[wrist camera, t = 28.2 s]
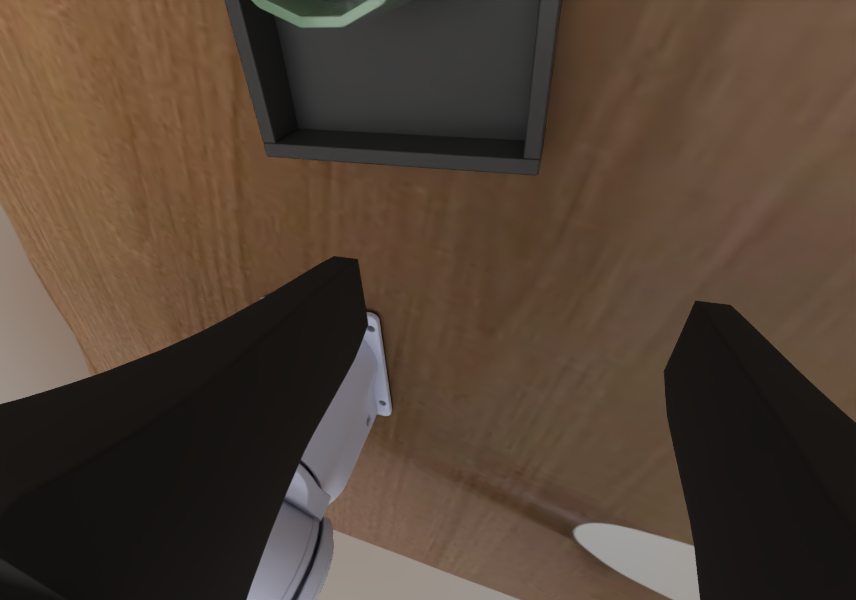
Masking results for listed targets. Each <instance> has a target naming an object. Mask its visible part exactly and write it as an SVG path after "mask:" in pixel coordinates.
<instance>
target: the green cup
mask: <svg viewBox="0 0 856 600" xmlns="http://www.w3.org/2000/svg"><path fill="white" fill-rule="evenodd" d="M252 1H253V2H254V3H255V4H256V5H257V6H258V7H259V8H261V9H263V10H265V11H267V12H269V13H271V14H273V15H275V16H277V17H279V18H281V19H283V20H285V21H288V22H290V23H292V24H294V25H296V26H298V27H301V28H343V27H347V26H349V25H352V24H355V23H358V22H361V21H363V20H366V19H369V18H372V17H375V16H377V15H380V14H383V13H386V12H389V11H391V10H394V9H397V8H400V7H403V6H405V5H408V4H411V3H412V2H414V1H416V0H252Z"/></svg>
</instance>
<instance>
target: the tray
mask: <svg viewBox="0 0 856 600" xmlns="http://www.w3.org/2000/svg"><path fill="white" fill-rule="evenodd" d="M561 3H562V0H416V1H414V2H412V3H411V4H408V5H405V6H403V7H400V8H397V9H394V10H391V11H389V12H386V13H383V14H380V15H377V16H375V17H372V18H369V19H366V20H363V21H361V22H358V23H355V24H352V25H349V26H347V27H343V28H301V27H298V26H296V25H294V24H292V23H290V22H288V21H285V20H283V19H281V18H279V17H277V16H275V15H273V14H271V13H269V12H267V11H265V10H263V9H261V8H259V7H258V6H257V5H256V4H255V3H254V2H253V1H252V0H225V4H226V7H227V11H228V15H229V18H230V22H231V26H232V29H233V33H234V37H235V40H236V44H237V48H238V52H239V55H240V59H241V63H242V66H243V70H244V74H245V77H246V81H247V85H248V88H249V92H250V96H251V99H252V103H253V107H254V110H255V114H256V118H257V121H258V125H259V129H260V132H261V136H262V140H263V142H265V143H264V147H265V151H266V154H267V156H268V157H279V158H293V159H308V160H322V161H337V162H351V163H365V164H380V165H394V166H409V167H423V168H437V169H452V170H466V171H481V172H495V173H509V174H524V175H538V173H539V168H540V162H541V157H542V151H543V143H544V135H545V128H546V120H547V112H548V104H549V97H550V89H551V81H552V73H553V65H554V58H555V50H556V42H557V34H558V27H559V19H560V11H561Z"/></svg>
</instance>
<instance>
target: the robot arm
mask: <svg viewBox="0 0 856 600" xmlns="http://www.w3.org/2000/svg"><path fill="white" fill-rule="evenodd" d="M370 326H372V327H373V328H372V327H370ZM664 379H665V396H666V408H667V417H668V422H669V427H670V432H671V437H672V442H673V446H674V451H675V456H676V460H677V465H678V469H679V474H680V478H681V483H682V487H683V492H684V496H685V501H686V505H687V510H688V514H689V519H690V524H691V530H692V536H693V541H694V548H695V555H696V566H697V575H698V584H699V593H700V600H856V423H855V422H854V421H853V420H852V419H851V418H850V417H848V416H847V415H846V414H845V413H844V412H843V411H842V410H840V409H839V408H838V407H837V406H836V405H835V404H834V403H833V402H832V401H830V400H829V399H828V398H827V397H826V396H825V395H824V394H823V393H822V392H821V391H820V390H818V389H817V388H816V387H815V386H814V385H813V384H812V383H811V382H810V381H809V380H808V379H807V378H806V377H805V376H804V375H802V374H801V373H800V372H799V371H798V370H797V369H796V368H795V367H794V366H793V365H792V364H791V363H790V362H789V361H788V360H787V359H786V358H785V357H784V356H783V355H782V354H781V353H780V352H779V351H778V350H777V349H776V348H775V347H774V346H773V345H772V344H771V343H770V342H769V341H768V340H766V339H765V338H764V337H763V336H762V335H761V334H760V333H759V332H758V331H757V330H756V329H755V328H754V327H753V326H752V325H751V324H750V323H749V322H748V321H747V320H746V319H745V318H744V317H743V316H742V315H741V314H740V313H739V312H738V311H736V310H735V309H734V308H733V307H732V306H731V305H726V304H718V303H710V302H702V301H695V303H694V305H693V308H692V310H691V312H690V314H689V317H688V319H687V321H686V323H685V325H684V328H683V330H682V332H681V334H680V337H679V339H678V341H677V343H676V346H675V348H674V350H673V352H672V355H671V357H670V359H669V361H668V363H667V366H666V368H665V370H664ZM391 412H392V405H391V397H390V390H389V383H388V376H387V369H386V362H385V355H384V348H383V341H382V334H381V327H380V320H379V318H378V316H377V315H375V314H374V313H371V312H366V306H365V300H364V294H363V288H362V282H361V276H360V270H359V264H358V259H353V258H345V257H336V256H334V257H332V258H330V259H328V260H326V261H324V262H322V263H320V264H319V265H317V266H315V267H314V268H312V269H310V270H309V271H307V272H305V273H304V274H302V275H300V276H299V277H297V278H296V279H294V280H292V281H291V282H289V283H287V284H286V285H284V286H282V287H281V288H279V289H277V290H276V291H274V292H272V293H271V294H269V295H267V296H266V297H262V298H261V299H260V300H259V301H257V302H255V303H254V304H252V305H250V306H248V307H246V308H245V309H243V310H241V311H239V312H237V313H235V314H234V315H232V316H230V317H228V318H226V319H225V320H223V321H221V322H219V323H217V324H215V325H213V326H211V327H209V328H207V329H205V330H203V331H201V332H199V333H197V334H195V335H193V336H191V337H189V338H186V339H184V340H182V341H180V342H178V343H175V344H173V345H171V346H169V347H167V348H164V349H162V350H160V351H157V352H155V353H152V354H150V355H147V356H144V357H142V358H139V359H137V360H134V361H132V362H129V363H126V364H124V365H121V366H119V367H116V368H114V369H111V370H108V371H106V372H103V373H100V374H97V375H94V376H91V377H88V378H86V379H83V380H80V381H77V382H74V383H71V384H68V385H64V386H61V387H58V388H55V389H52V390H48V391H45V392H42V393H39V394H35V395H32V396H29V397H25V398H22V399H18V400H15V401H11V402H7V403H3V404H0V600H317V599H318V596H319V594H320V592H321V590H322V587H323V585H324V582H325V580H326V577H327V574H328V571H329V568H330V564H331V561H332V555H333V548H334V542H333V527H332V523H331V521H330V520H329V519H328V518H327V517H325V516H324V513H325V511H326V509H327V507H328V505H329V504H330V503H332V502H333V501H334V500H335V499H336V498H337V497H338V496H339V495H340V494H341V492H342V491H343V490H344V488H345V486H346V485H347V483H348V480H349V478H350V476H351V473H352V471H353V469H354V466H355V464H356V462H357V459H358V457H359V455H360V452H361V450H362V448H363V446H364V443H365V441H366V439H367V436H368V434H369V432H370V429H371V427H372V425H373V422H374V420H375V418H376V415H377V414H378V415H383V416H389V415H390V414H391Z"/></svg>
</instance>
